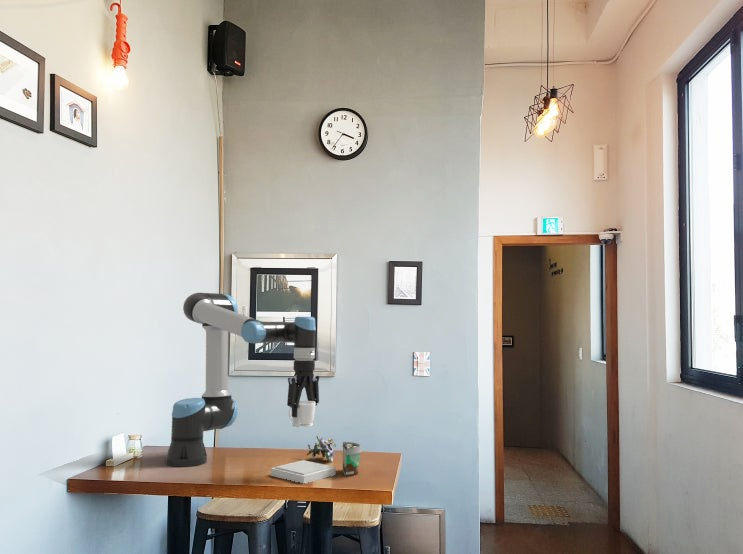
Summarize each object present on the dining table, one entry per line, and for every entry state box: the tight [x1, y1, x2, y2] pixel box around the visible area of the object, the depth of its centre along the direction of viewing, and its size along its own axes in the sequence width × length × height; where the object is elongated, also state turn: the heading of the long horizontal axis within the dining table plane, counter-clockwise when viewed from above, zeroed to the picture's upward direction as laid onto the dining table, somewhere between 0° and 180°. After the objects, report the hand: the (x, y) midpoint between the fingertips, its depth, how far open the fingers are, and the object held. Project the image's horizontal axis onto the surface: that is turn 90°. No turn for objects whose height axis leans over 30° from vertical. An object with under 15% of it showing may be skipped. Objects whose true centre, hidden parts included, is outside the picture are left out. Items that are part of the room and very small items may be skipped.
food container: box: [342, 441, 363, 477], centre depth 216 cm, size 12×6×10 cm, turn 9°
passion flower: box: [306, 435, 337, 463], centre depth 234 cm, size 11×11×12 cm
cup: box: [288, 400, 316, 428], centre depth 213 cm, size 7×10×8 cm
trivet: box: [270, 459, 336, 485], centre depth 212 cm, size 16×16×3 cm
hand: (303, 425), depth 213 cm, fingers closed on cup, 6 cm apart
